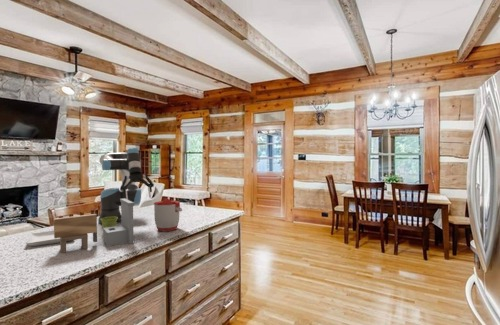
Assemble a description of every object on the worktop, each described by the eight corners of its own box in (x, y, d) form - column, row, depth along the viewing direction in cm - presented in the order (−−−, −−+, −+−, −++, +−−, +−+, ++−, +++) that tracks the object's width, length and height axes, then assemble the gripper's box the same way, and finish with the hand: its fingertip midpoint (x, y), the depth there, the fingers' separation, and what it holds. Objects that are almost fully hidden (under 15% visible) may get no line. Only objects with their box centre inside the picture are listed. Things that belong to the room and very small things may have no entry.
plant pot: (121, 231, 172) (121, 217, 171) (108, 235, 163) (107, 220, 163) (110, 229, 176) (110, 216, 175) (97, 233, 167) (96, 219, 167)
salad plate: (25, 249, 140) (25, 242, 140) (31, 238, 158) (31, 232, 158) (75, 242, 152) (75, 236, 151) (75, 233, 170) (75, 227, 169)
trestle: (60, 248, 140) (60, 234, 139) (85, 244, 146) (85, 231, 146) (61, 253, 133) (61, 238, 133) (87, 248, 140) (87, 234, 140)
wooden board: (54, 247, 136) (53, 218, 136) (96, 240, 147) (95, 213, 147) (54, 248, 134) (54, 219, 133) (97, 241, 144) (96, 214, 144)
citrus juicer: (176, 233, 167) (175, 199, 166) (149, 232, 170) (148, 199, 169) (186, 226, 182) (186, 196, 182) (161, 225, 185) (161, 195, 185)
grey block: (102, 239, 156) (101, 200, 155) (125, 235, 163) (125, 198, 163) (108, 248, 141) (108, 205, 140) (134, 243, 148) (133, 202, 147)
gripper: (114, 168, 178) (116, 198, 169) (155, 164, 189) (159, 193, 180) (114, 173, 184) (117, 203, 175) (154, 170, 195) (158, 197, 186)
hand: (138, 198), depth 177 cm, fingers open, 13 cm apart
